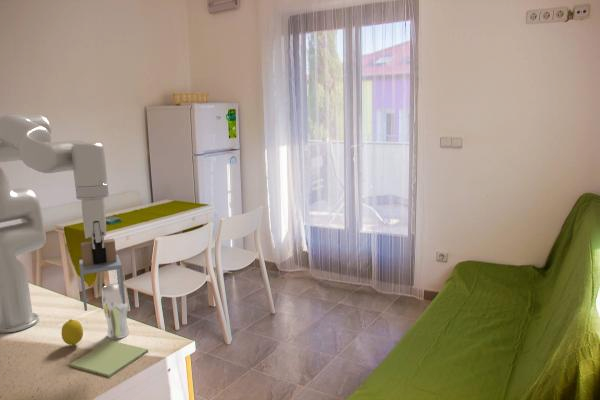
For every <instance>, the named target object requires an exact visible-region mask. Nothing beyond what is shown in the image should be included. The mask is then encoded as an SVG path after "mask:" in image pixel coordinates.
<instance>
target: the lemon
mask: <svg viewBox="0 0 600 400" xmlns="http://www.w3.org/2000/svg"><path fill="white" fill-rule="evenodd" d="M83 336H84V330H83V326H82V324H81V322H79V320H76V319H71V318H70V319H69V320H68V321H66V322H65V323H64V324H63V325H62V328H61V337H62V340H63V342H64V343H65V344H67V345H70V346H75V345H77V344H78V343H79V342H80V341H82V339H83Z"/></svg>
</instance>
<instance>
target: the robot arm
mask: <svg viewBox="0 0 600 400" xmlns="http://www.w3.org/2000/svg"><path fill="white" fill-rule="evenodd" d="M51 134H52V127H51V124H50V122H49V120H48V119H47V118H46V117H45V116H43V115H41V114H37V113H15V114H14V113H13V114H4V115H1V116H0V163H6V162H15V161H16V162H17V161H22V162H23V164H24V165H25V166H27V167H28V168H31V169H32V170H34V171H37V172H39V173H42V174H53V173H60V172H66V171H67V172H68V171H72V172H73V179H74V187H75V195H76V199H77V200H80V201H81V214H82V221H83V231H84V238H85V239H87V240H89V238H91V241H92V246H93V249H92V255H93V264H101V263H106V262H107V258H106V248H105V247H104V240H105V239H104V238H105V237H106V236H107V219H106V218H107V217H106V206H105V204H106V203H105V199H106V198H109V196H110V195H109V187H108V186H109V184H108V175H107V167H106V157H105V154H106V153H105V149H104V145H103V143H101V142H96V141H84V140H64V141H52V136H51ZM39 199H40V198H38V195H37V194H36V193H35V192H34V191H33V190H32V189H30V188H27V187H19V188H12V189H11V186H10V182H9V178H8V174H7V173H6V171H4V170H3V169H2V167H0V224H2V223H7V222H11V221H16V220H20V221H21V222H20V223H15V224H8V225H4V226H1V227H0V333H5V334H7V333H14V332H19V331H22V330H23V331H24V330H25V329H29V328H31V327H32V326H34V325H36V324H37V323H39V320H40V317H39V315H38V314H37V313H35V312H33V307H32V300H31V293H30V286H29V279H28V271H27V268H26V266H25V264H24V263H23V262H22V261H21V260H19V259H18V258H17V257H18V256H19V255H23V254H26V253H30V252H34V251H37V250H39V249H41V248H43V247H44V246H45V245H46V241H47V235H46V229H45V224H44V223H45V222H44V218H43V212H42V207H41V202H40V200H39Z"/></svg>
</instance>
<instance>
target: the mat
mask: <svg viewBox="0 0 600 400" xmlns="http://www.w3.org/2000/svg"><path fill="white" fill-rule="evenodd" d="M147 353H149V349H148V348H143V347H140V346H135V345H132V344H127V343H124V342H123V343H122V342H120V341H119V342H118V341H114V340H112V339H110V340H108V341H107V342H105V343H104V344H102V345H100V346H98V347H97V348H95V349H93V350H90V352H87V353H86V354H84V355H82V356H81V357H79V358H78V359H76V360H74V361H72V362H71V363H69V367H73V368H76V369H79V370H82V371H86V372H90V373H93V374H96V373H97V375H101V376H105V377H108V378H111V377H112V376H113V375H116V373H118V372H120V371H121V370H123V369H125V368H126V367H127V366H128V365H130V364H132V363H133V362H135V361H136V360H138V359H139V358H141V357H142V356H143V355H145V354H147Z"/></svg>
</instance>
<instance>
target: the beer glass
mask: <svg viewBox="0 0 600 400" xmlns="http://www.w3.org/2000/svg"><path fill="white" fill-rule="evenodd" d="M126 287H127V286H126V285H125V284H124V294H125V304H123V302H122V299H121V295H120V292H119V283H111V284H107V285H104V286H103V287H102V288H101V302H102V309H103V313H104V315H105V316H104V317H105V319H106V323H107V338H108V339H110V340H120V339H123V338H126V337H127V336H128V335H129V334H130V330H129V326H128V321H127V319H128V308H129V307H128V306H129V305H128V304H129V303H128V302H129V301H128V294H127V293H128V292H127V288H126Z"/></svg>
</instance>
